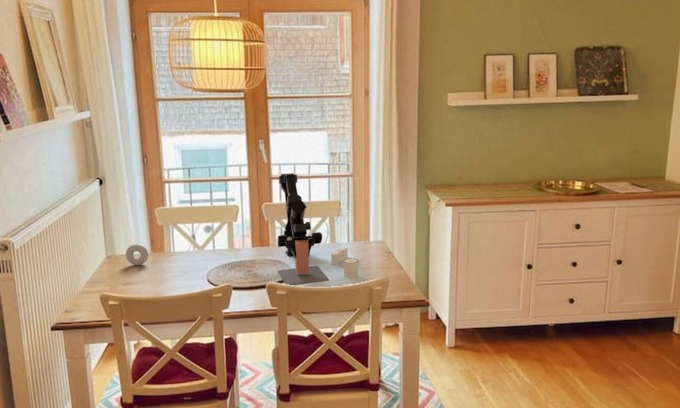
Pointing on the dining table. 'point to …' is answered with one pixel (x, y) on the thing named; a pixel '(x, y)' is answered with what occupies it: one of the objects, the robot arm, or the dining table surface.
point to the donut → (133, 259)
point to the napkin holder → (339, 255)
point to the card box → (302, 256)
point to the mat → (302, 276)
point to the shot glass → (351, 268)
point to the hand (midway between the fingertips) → (302, 257)
